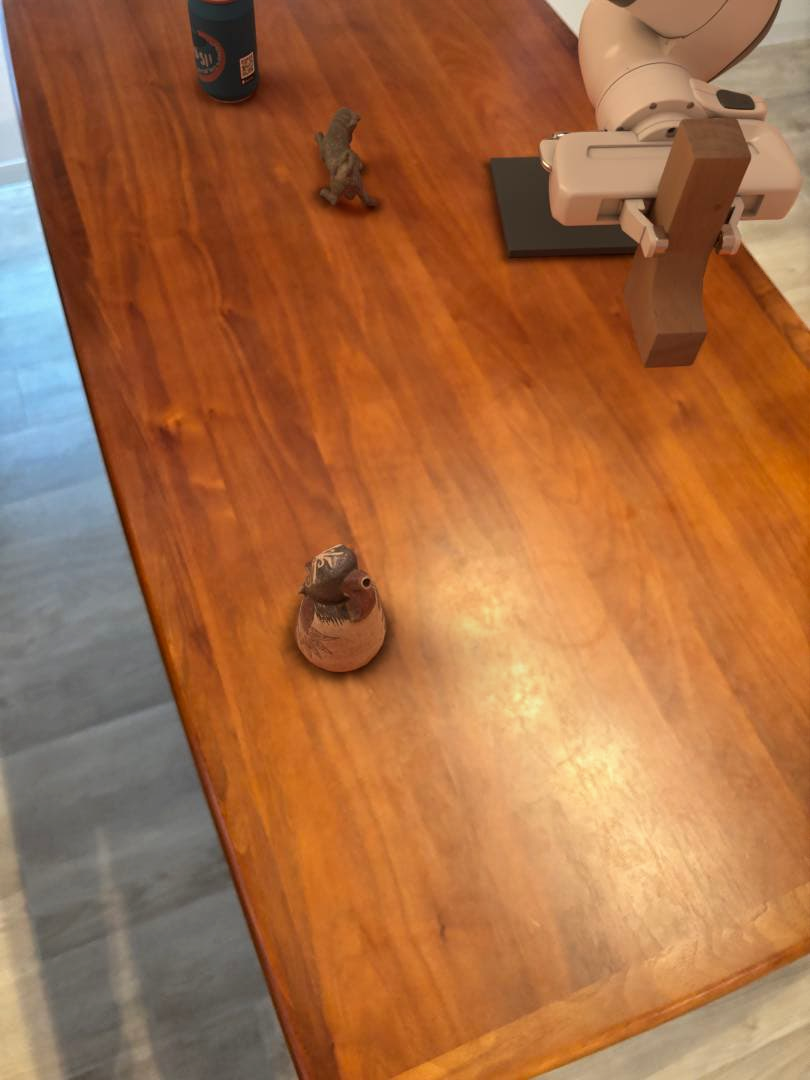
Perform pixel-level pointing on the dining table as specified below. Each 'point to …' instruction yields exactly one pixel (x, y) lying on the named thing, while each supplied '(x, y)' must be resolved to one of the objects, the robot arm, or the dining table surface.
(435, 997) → the dining table surface
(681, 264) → the wooden block
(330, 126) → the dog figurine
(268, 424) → the dining table surface
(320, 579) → the figurine
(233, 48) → the soda can
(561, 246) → the mat
